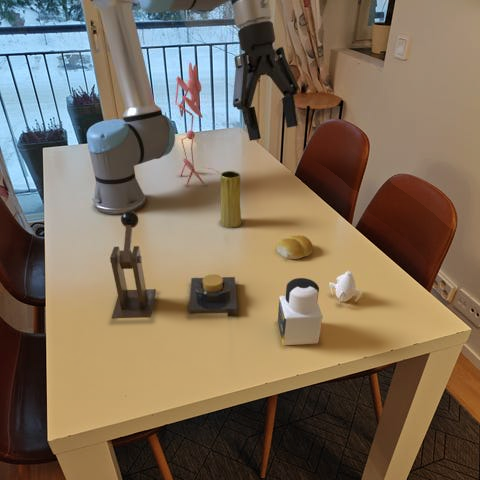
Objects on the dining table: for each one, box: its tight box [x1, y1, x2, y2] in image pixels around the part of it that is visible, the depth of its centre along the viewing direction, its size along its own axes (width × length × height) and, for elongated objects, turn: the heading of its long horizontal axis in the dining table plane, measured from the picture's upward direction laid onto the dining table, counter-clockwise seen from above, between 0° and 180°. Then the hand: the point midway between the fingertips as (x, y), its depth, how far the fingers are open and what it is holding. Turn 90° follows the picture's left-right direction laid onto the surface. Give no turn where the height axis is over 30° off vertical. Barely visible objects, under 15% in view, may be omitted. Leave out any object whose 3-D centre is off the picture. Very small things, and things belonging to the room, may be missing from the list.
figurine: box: [174, 62, 219, 193], centre depth 140 cm, size 15×26×35 cm, turn 19°
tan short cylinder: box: [202, 273, 223, 292], centre depth 93 cm, size 4×4×2 cm
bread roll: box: [276, 234, 314, 260], centre depth 111 cm, size 8×9×4 cm
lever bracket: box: [109, 245, 156, 319], centre depth 89 cm, size 10×8×14 cm
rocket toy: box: [328, 270, 363, 305], centre depth 94 cm, size 5×5×8 cm
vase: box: [220, 170, 242, 229], centre depth 120 cm, size 6×6×14 cm
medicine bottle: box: [277, 277, 323, 346], centre depth 84 cm, size 7×7×12 cm
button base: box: [188, 276, 238, 317], centre depth 95 cm, size 12×10×4 cm
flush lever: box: [119, 211, 139, 270], centre depth 88 cm, size 13×4×4 cm, turn 3°
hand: (274, 133), depth 99 cm, fingers open, 13 cm apart
